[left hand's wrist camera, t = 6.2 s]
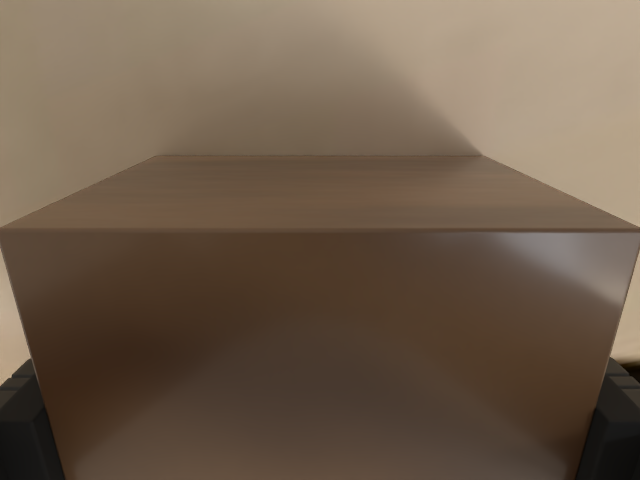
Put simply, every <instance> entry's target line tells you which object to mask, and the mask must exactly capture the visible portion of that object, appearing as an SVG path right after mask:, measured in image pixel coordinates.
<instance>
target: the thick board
mask: <svg viewBox="0 0 640 480" xmlns="http://www.w3.org/2000/svg"><path fill="white" fill-rule="evenodd" d="M0 247H1V251H2V255H3V258H4V262H5V265H6V269H7V273H8V276H9V280H10V283H11V287H12V291H13V294H14V298H15V301H16V305H17V309H18V312H19V316H20V319H21V323H22V327H23V330H24V334H25V337H26V341H27V345H28V348H29V352H30V355H31V359H32V363H33V366H34V370H35V373H36V377H37V380H38V384H39V388H40V391H41V395H42V398H43V402H44V406H45V409H46V413H47V416H48V420H49V424H50V427H51V431H52V434H53V438H54V442H55V445H56V449H57V452H58V456H59V460H60V463H61V467H62V470H63V474H64V478H65V480H575V479H576V476H577V472H578V469H579V465H580V461H581V458H582V454H583V451H584V447H585V443H586V440H587V436H588V433H589V429H590V426H591V422H592V418H593V415H594V411H595V408H596V404H597V400H598V397H599V393H600V390H601V386H602V382H603V379H604V375H605V372H606V368H607V365H608V361H609V357H610V354H611V350H612V347H613V343H614V339H615V336H616V332H617V329H618V325H619V322H620V318H621V314H622V311H623V307H624V304H625V300H626V296H627V293H628V289H629V286H630V282H631V279H632V275H633V271H634V268H635V264H636V261H637V257H638V253H639V250H640V227H637V226H635V225H633V224H631V223H629V222H627V221H624V220H622V219H620V218H618V217H616V216H614V215H611V214H609V213H607V212H605V211H603V210H601V209H598V208H596V207H594V206H592V205H590V204H588V203H585V202H583V201H581V200H579V199H577V198H575V197H572V196H570V195H568V194H566V193H564V192H562V191H559V190H557V189H555V188H553V187H551V186H549V185H546V184H544V183H542V182H540V181H538V180H536V179H533V178H531V177H529V176H527V175H525V174H523V173H520V172H518V171H516V170H514V169H512V168H510V167H507V166H505V165H503V164H501V163H499V162H497V161H494V160H492V159H490V158H488V157H486V156H155V157H152V158H150V159H148V160H146V161H144V162H142V163H139V164H137V165H135V166H133V167H131V168H129V169H126V170H124V171H122V172H120V173H118V174H116V175H113V176H111V177H109V178H107V179H105V180H103V181H100V182H98V183H96V184H94V185H92V186H90V187H87V188H85V189H83V190H81V191H79V192H77V193H74V194H72V195H70V196H68V197H66V198H64V199H61V200H59V201H57V202H55V203H53V204H50V205H48V206H46V207H44V208H42V209H40V210H37V211H35V212H33V213H31V214H29V215H27V216H24V217H22V218H20V219H18V220H16V221H14V222H11V223H9V224H7V225H5V226H3V227H1V228H0Z"/></svg>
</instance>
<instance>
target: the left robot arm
mask: <svg viewBox="0 0 640 480" xmlns="http://www.w3.org/2000/svg"><path fill="white" fill-rule="evenodd" d="M0 480H65V478H64V474H63V470H62V467H61V463H60V460H59V456H58V452H57V449H56V445H55V442H54V438H53V434H52V431H51V427H50V424H49V420H48V416H47V413H46V409H45V406H44V402H43V398H42V395H41V391H40V388H39V384H38V380H37V377H36V373H35V370H34V366H33V363H32V359H31V358H30V359H29V360H27V361H26V362H25V363H24V364H23V365H22V366H21V367H20V368H19V369H18V370H17V371H16V372H15V373H14V374H13V375H12V378H8V379H7V380H6V381H5V382H4V383H3V384H2V385H1V386H0ZM575 480H640V384H639V383H638V382H637V381H636V380H635V379H634V378H633V377H630V376H629V373H628V372H627V371H626V370H625V369H624V368H622V367H621V366H620V365H619V364H618V363H617V362H616V361H615V360H614V359H613V358H611V357H609V361H608V365H607V368H606V372H605V375H604V379H603V382H602V386H601V390H600V393H599V397H598V400H597V404H596V408H595V411H594V415H593V418H592V422H591V426H590V429H589V433H588V436H587V440H586V443H585V447H584V451H583V454H582V458H581V461H580V465H579V469H578V472H577V476H576V479H575Z"/></svg>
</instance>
